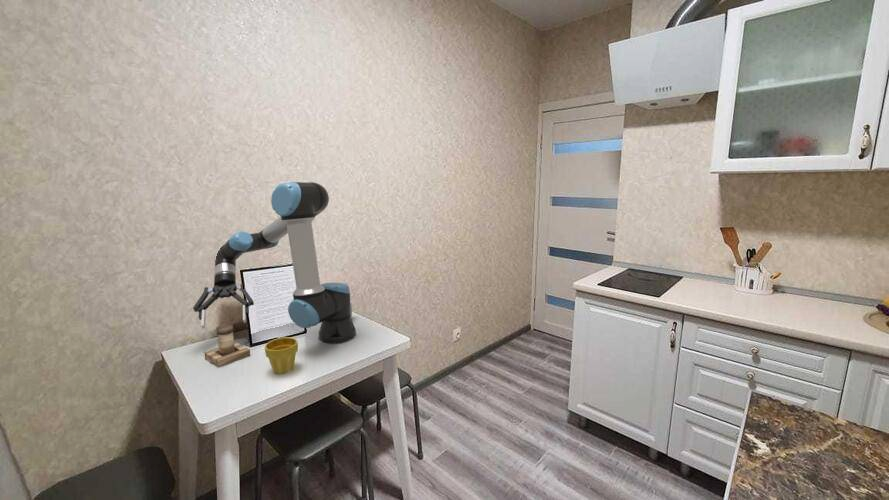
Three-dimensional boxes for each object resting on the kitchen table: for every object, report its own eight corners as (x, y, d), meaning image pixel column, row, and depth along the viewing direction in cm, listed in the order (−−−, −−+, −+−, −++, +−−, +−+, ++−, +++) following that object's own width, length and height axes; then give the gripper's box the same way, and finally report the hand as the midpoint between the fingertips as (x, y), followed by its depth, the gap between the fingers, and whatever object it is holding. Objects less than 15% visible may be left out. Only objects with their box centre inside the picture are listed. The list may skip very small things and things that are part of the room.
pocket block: (250, 355, 136) (249, 349, 135) (219, 367, 127) (218, 360, 126) (236, 347, 142) (235, 341, 141) (205, 358, 133) (204, 352, 132)
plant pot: (278, 380, 119) (276, 352, 117) (260, 371, 124) (258, 345, 122) (305, 367, 127) (303, 341, 126) (287, 359, 133) (285, 334, 131)
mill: (238, 356, 135) (235, 326, 133) (223, 361, 131) (220, 330, 128) (231, 352, 138) (228, 323, 135) (217, 357, 133) (213, 327, 131)
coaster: (251, 342, 146) (251, 341, 146) (233, 348, 141) (233, 347, 141) (242, 338, 150) (242, 337, 150) (224, 344, 145) (224, 343, 145)
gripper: (259, 278, 156) (261, 323, 145) (191, 284, 145) (187, 333, 135) (258, 269, 150) (259, 315, 140) (186, 274, 140) (182, 325, 129)
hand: (224, 324), depth 137 cm, fingers open, 13 cm apart
